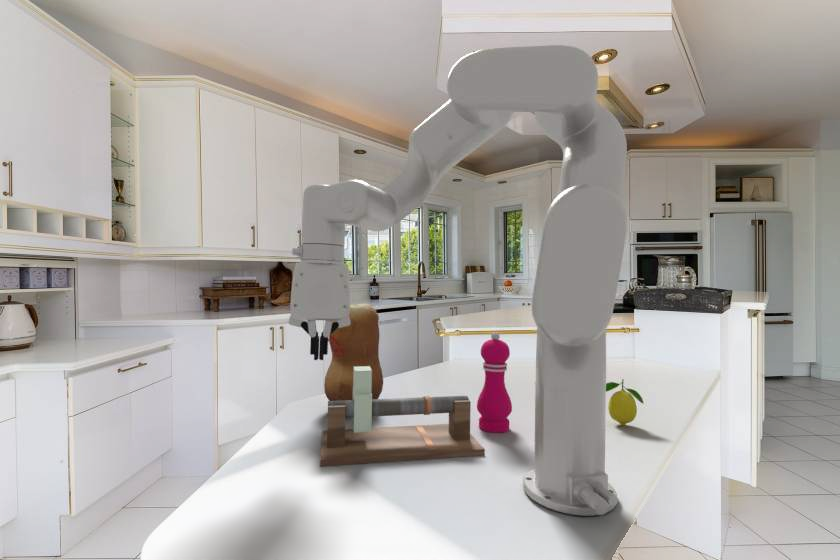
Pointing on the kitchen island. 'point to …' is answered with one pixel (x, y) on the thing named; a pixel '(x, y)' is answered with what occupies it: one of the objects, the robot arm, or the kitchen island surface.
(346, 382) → the butternut squash
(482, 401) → the pepper mill
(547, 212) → the robot arm
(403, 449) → the pipe stand
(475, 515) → the kitchen island surface
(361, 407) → the sleeve
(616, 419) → the lemon
